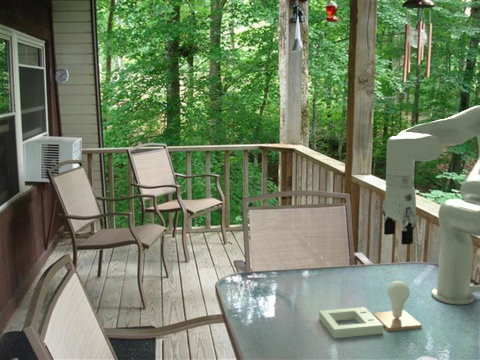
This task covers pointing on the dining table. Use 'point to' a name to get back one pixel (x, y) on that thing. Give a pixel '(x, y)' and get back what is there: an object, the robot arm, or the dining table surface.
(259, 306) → the dining table surface
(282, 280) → the dining table surface
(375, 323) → the slotted square frame
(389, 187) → the robot arm
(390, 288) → the lightbulb
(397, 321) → the tile
